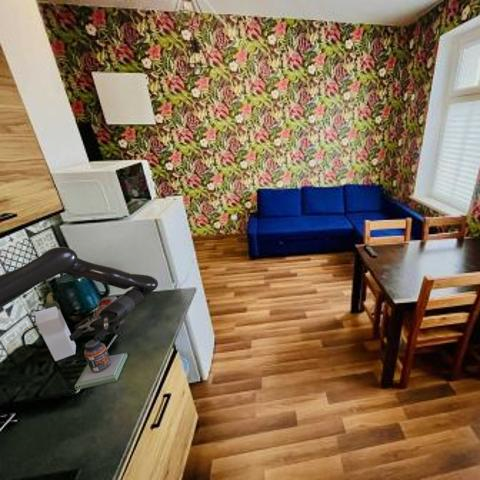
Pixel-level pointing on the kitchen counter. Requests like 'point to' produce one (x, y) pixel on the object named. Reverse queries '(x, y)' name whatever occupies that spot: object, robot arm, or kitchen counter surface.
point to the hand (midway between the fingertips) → (83, 339)
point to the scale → (102, 373)
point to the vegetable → (51, 302)
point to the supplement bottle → (97, 356)
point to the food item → (103, 304)
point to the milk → (55, 333)
